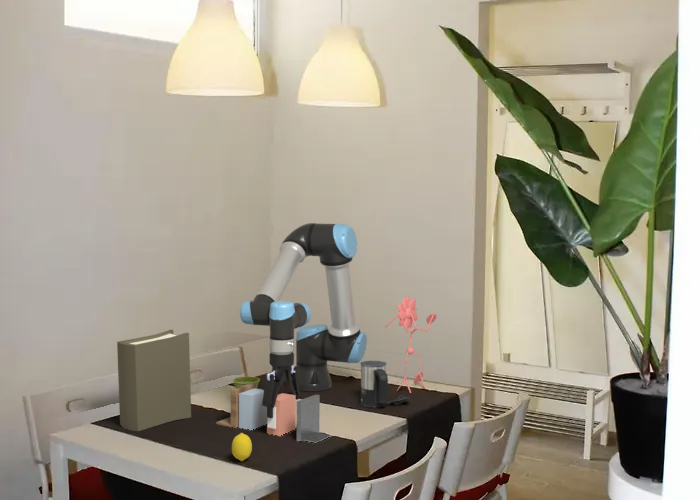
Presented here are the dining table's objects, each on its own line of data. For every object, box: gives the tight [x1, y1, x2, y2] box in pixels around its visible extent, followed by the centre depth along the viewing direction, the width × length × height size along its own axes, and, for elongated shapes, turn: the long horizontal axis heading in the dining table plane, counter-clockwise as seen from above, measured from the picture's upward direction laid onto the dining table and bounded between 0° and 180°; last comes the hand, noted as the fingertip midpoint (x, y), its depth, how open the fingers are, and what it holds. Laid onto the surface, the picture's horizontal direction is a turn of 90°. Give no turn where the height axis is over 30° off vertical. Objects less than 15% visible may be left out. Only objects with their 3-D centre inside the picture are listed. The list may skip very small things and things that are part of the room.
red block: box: [266, 392, 297, 437], centre depth 254 cm, size 8×5×11 cm, turn 149°
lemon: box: [231, 432, 253, 462], centre depth 227 cm, size 6×6×8 cm
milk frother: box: [359, 360, 411, 408], centre depth 287 cm, size 14×16×15 cm
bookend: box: [296, 394, 332, 444], centre depth 247 cm, size 10×6×12 cm, turn 149°
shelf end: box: [215, 383, 256, 429], centre depth 263 cm, size 10×8×12 cm
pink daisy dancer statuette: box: [384, 296, 438, 394], centre depth 309 cm, size 15×26×35 cm, turn 139°
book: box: [116, 329, 192, 432], centre depth 262 cm, size 22×9×28 cm, turn 140°
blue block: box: [238, 387, 267, 431], centre depth 260 cm, size 8×5×11 cm, turn 148°
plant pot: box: [232, 376, 261, 389], centre depth 285 cm, size 9×9×9 cm
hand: (281, 423), depth 254 cm, fingers open, 9 cm apart
